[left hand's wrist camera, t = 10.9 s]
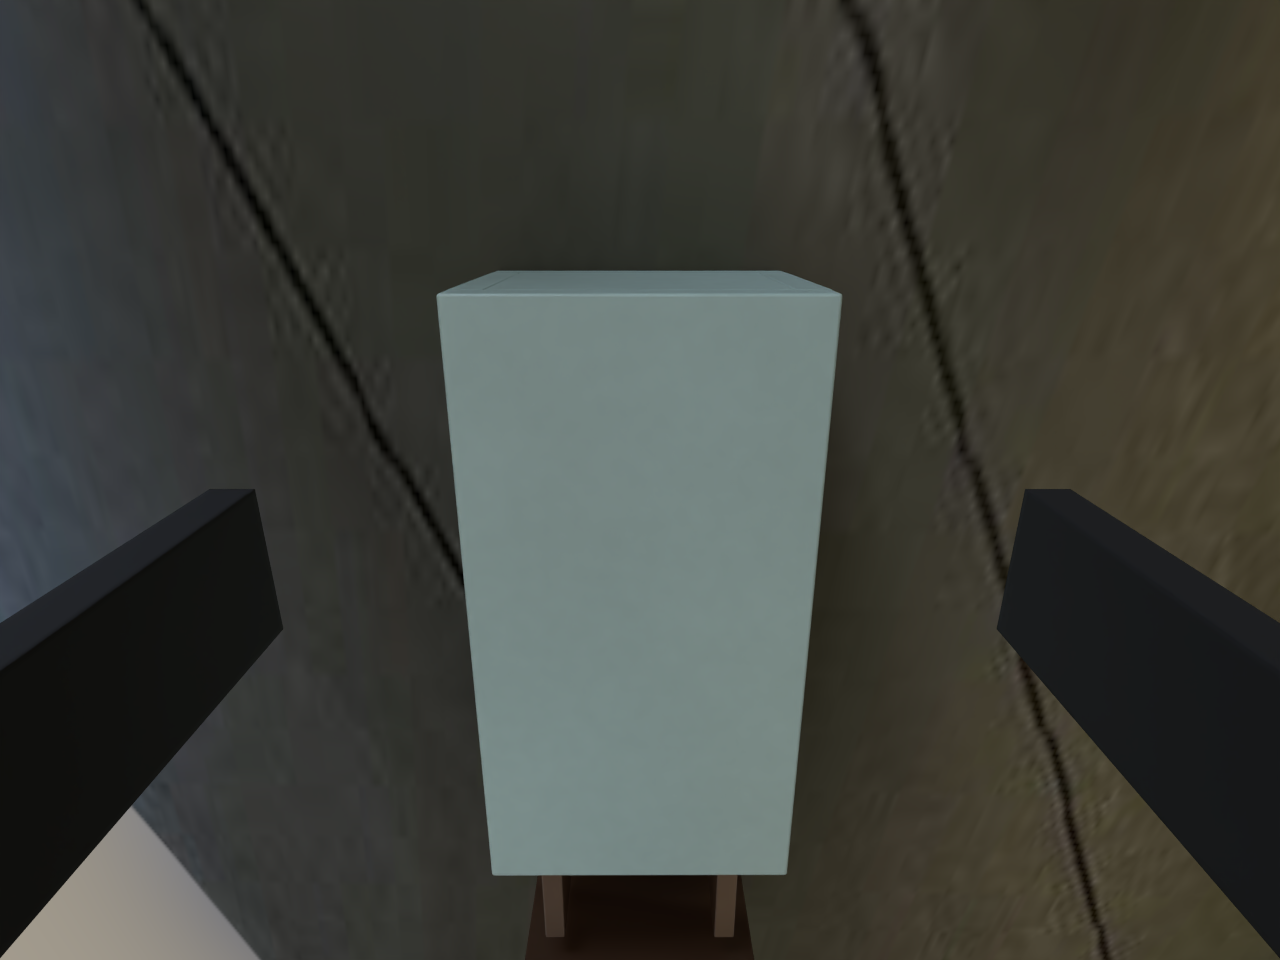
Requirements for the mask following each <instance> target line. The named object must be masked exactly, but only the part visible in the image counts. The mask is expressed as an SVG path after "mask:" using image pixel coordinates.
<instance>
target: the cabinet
mask: <svg viewBox="0 0 1280 960" xmlns="http://www.w3.org/2000/svg"><path fill="white" fill-rule="evenodd" d="M841 306H842V294H840V293H838V292H835V291H833V290H831V289H829V288H826V287H823V286H821V285H818V284H815V283H813V282H810V281H807V280H805V279H802V278H799V277H797V276H794V275H791V274H789V273H785V272H782V271H496V272H493V273H490V274H487V275H485V276H482V277H479V278H477V279H474V280H471V281H469V282H466V283H464V284H461V285H458V286H456V287H453V288H451V289H448V290H446V291H444V292H441V293H439V294H437V307H438V317H439V328H440V338H441V348H442V359H443V369H444V379H445V390H446V400H447V410H448V421H449V431H450V441H451V452H452V462H453V472H454V483H455V493H456V503H457V514H458V524H459V534H460V545H461V555H462V565H463V576H464V586H465V597H466V607H467V617H468V628H469V638H470V648H471V659H472V669H473V679H474V690H475V700H476V710H477V721H478V731H479V741H480V752H481V762H482V772H483V783H484V793H485V803H486V814H487V824H488V834H489V845H490V855H491V866H492V874H493V875H785V874H786V873H787V866H788V856H789V845H790V835H791V825H792V814H793V804H794V794H795V783H796V773H797V762H798V752H799V742H800V731H801V721H802V711H803V700H804V690H805V679H806V669H807V659H808V648H809V638H810V628H811V617H812V607H813V597H814V586H815V576H816V565H817V555H818V545H819V534H820V524H821V514H822V503H823V493H824V482H825V472H826V462H827V451H828V441H829V431H830V420H831V410H832V399H833V389H834V379H835V368H836V358H837V348H838V337H839V327H840V317H841Z"/></svg>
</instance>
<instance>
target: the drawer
mask: <svg viewBox="0 0 1280 960" xmlns="http://www.w3.org/2000/svg"><path fill="white" fill-rule="evenodd" d="M525 960H754V956H753V950H752V943H751V937H750V931H749V924H748V918H747V911H746V905H745V899H744V892H743V886H742V879H741V875H538V878H537V885H536V891H535V898H534V905H533V911H532V918H531V924H530V931H529V937H528V944H527V951H526V957H525Z"/></svg>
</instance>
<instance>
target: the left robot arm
mask: <svg viewBox="0 0 1280 960" xmlns="http://www.w3.org/2000/svg"><path fill="white" fill-rule="evenodd" d="M282 630H283V625H282V620H281V616H280V611H279V606H278V601H277V596H276V591H275V586H274V581H273V576H272V571H271V567H270V562H269V557H268V552H267V547H266V542H265V537H264V532H263V527H262V522H261V518H260V513H259V508H258V503H257V498H256V493H255V489H209V490H208V491H206V492H205V493H203V494H201V495H200V496H198V497H197V498H195V499H194V500H192V501H191V502H189V503H187V504H186V505H184V506H183V507H181V508H180V509H178V510H176V511H175V512H173V513H172V514H170V515H169V516H167V517H166V518H164V519H162V520H161V521H159V522H158V523H156V524H155V525H153V526H151V527H150V528H148V529H147V530H145V531H144V532H142V533H141V534H139V535H137V536H136V537H134V538H133V539H131V540H130V541H128V542H126V543H125V544H123V545H122V546H120V547H119V548H117V549H116V550H114V551H112V552H111V553H109V554H108V555H106V556H105V557H103V558H101V559H100V560H98V561H97V562H95V563H94V564H92V565H91V566H89V567H87V568H86V569H84V570H83V571H81V572H80V573H78V574H76V575H75V576H73V577H72V578H70V579H69V580H67V581H66V582H64V583H62V584H61V585H59V586H58V587H56V588H55V589H53V590H51V591H50V592H48V593H47V594H45V595H44V596H42V597H40V598H39V599H37V600H36V601H34V602H33V603H31V604H30V605H28V606H26V607H25V608H23V609H22V610H20V611H19V612H17V613H15V614H14V615H12V616H11V617H9V618H8V619H6V620H5V621H3V622H1V623H0V958H1V957H2V955H3V954H4V953H5V952H6V951H7V950H8V948H9V947H10V946H11V945H12V944H13V943H14V941H15V940H16V939H17V938H18V937H19V936H20V934H21V933H22V932H23V931H24V930H25V929H26V927H27V926H28V925H29V924H30V923H31V922H32V920H33V919H34V918H35V917H36V916H37V915H38V913H39V912H40V911H41V910H42V909H43V908H44V907H45V905H46V904H47V903H48V902H49V901H50V900H51V898H52V897H53V896H54V895H55V894H56V893H57V891H58V890H59V889H60V888H61V887H62V886H63V884H64V883H65V882H66V881H67V880H68V879H69V877H70V876H71V875H72V874H73V873H74V872H75V870H76V869H77V868H78V867H79V866H80V865H81V864H82V862H83V861H84V860H85V859H86V858H87V856H88V855H89V854H90V853H91V852H92V851H93V850H94V848H95V847H96V846H97V845H98V844H99V843H100V841H101V840H102V839H103V838H104V837H105V836H106V834H107V833H108V832H109V831H110V830H111V829H112V827H113V826H114V825H115V824H116V823H117V822H118V820H119V819H120V818H121V817H122V816H123V815H124V813H125V812H126V811H127V810H128V809H129V808H130V807H131V805H132V804H133V803H134V802H135V801H136V800H137V798H138V797H139V796H140V795H141V794H142V793H143V791H144V790H145V789H146V788H147V787H148V786H149V784H150V783H151V782H152V781H153V780H154V779H155V777H156V776H157V775H158V774H159V773H160V772H161V770H162V769H163V768H164V767H165V766H166V765H167V763H168V762H169V761H170V760H171V759H172V758H173V757H174V755H175V754H176V753H177V752H178V751H179V750H180V748H181V747H182V746H183V745H184V744H185V743H186V741H187V740H188V739H189V738H190V737H191V736H192V734H193V733H194V732H195V731H196V730H197V729H198V727H199V726H200V725H201V724H202V723H203V722H204V720H205V719H206V718H207V717H208V716H209V715H210V713H211V712H212V711H213V710H214V709H215V708H216V706H217V705H218V704H219V703H220V702H221V701H222V700H223V698H224V697H225V696H226V695H227V694H228V693H229V691H230V690H231V689H232V688H233V687H234V686H235V684H236V683H237V682H238V681H239V680H240V679H241V677H242V676H243V675H244V674H245V673H246V672H247V670H248V669H249V668H250V667H251V666H252V665H253V663H254V662H255V661H256V660H257V659H258V658H259V656H260V655H261V654H262V653H263V652H264V651H265V650H266V648H267V647H268V646H269V645H270V644H271V643H272V641H273V640H274V639H275V638H276V637H277V636H278V634H279V633H280V632H281V631H282ZM997 630H998V631H999V632H1000V633H1001V634H1002V636H1003V637H1004V638H1005V639H1006V640H1007V641H1008V643H1009V644H1010V645H1011V646H1012V647H1013V648H1014V650H1015V651H1016V652H1017V653H1018V654H1019V655H1020V656H1021V658H1022V659H1023V660H1024V661H1025V662H1026V663H1027V665H1028V666H1029V667H1030V668H1031V669H1032V670H1033V672H1034V673H1035V674H1036V675H1037V676H1038V677H1039V679H1040V680H1041V681H1042V682H1043V683H1044V684H1045V686H1046V687H1047V688H1048V689H1049V690H1050V691H1051V693H1052V694H1053V695H1054V696H1055V697H1056V698H1057V700H1058V701H1059V702H1060V703H1061V704H1062V705H1063V706H1064V708H1065V709H1066V710H1067V711H1068V712H1069V713H1070V715H1071V716H1072V717H1073V718H1074V719H1075V720H1076V722H1077V723H1078V724H1079V725H1080V726H1081V727H1082V729H1083V730H1084V731H1085V732H1086V733H1087V734H1088V736H1089V737H1090V738H1091V739H1092V740H1093V741H1094V743H1095V744H1096V745H1097V746H1098V747H1099V748H1100V750H1101V751H1102V752H1103V753H1104V754H1105V755H1106V757H1107V758H1108V759H1109V760H1110V761H1111V762H1112V763H1113V765H1114V766H1115V767H1116V768H1117V769H1118V770H1119V772H1120V773H1121V774H1122V775H1123V776H1124V777H1125V779H1126V780H1127V781H1128V782H1129V783H1130V784H1131V786H1132V787H1133V788H1134V789H1135V790H1136V791H1137V793H1138V794H1139V795H1140V796H1141V797H1142V798H1143V800H1144V801H1145V802H1146V803H1147V804H1148V805H1149V807H1150V808H1151V809H1152V810H1153V811H1154V812H1155V813H1156V815H1157V816H1158V817H1159V818H1160V819H1161V820H1162V822H1163V823H1164V824H1165V825H1166V826H1167V827H1168V829H1169V830H1170V831H1171V832H1172V833H1173V834H1174V836H1175V837H1176V838H1177V839H1178V840H1179V841H1180V843H1181V844H1182V845H1183V846H1184V847H1185V848H1186V850H1187V851H1188V852H1189V853H1190V854H1191V855H1192V857H1193V858H1194V859H1195V860H1196V861H1197V862H1198V864H1199V865H1200V866H1201V867H1202V868H1203V869H1204V870H1205V872H1206V873H1207V874H1208V875H1209V876H1210V877H1211V879H1212V880H1213V881H1214V882H1215V883H1216V884H1217V886H1218V887H1219V888H1220V889H1221V890H1222V891H1223V893H1224V894H1225V895H1226V896H1227V897H1228V898H1229V900H1230V901H1231V902H1232V903H1233V904H1234V905H1235V907H1236V908H1237V909H1238V910H1239V911H1240V912H1241V914H1242V915H1243V916H1244V917H1245V918H1246V919H1247V920H1248V922H1249V923H1250V924H1251V925H1252V926H1253V927H1254V929H1255V930H1256V931H1257V932H1258V933H1259V934H1260V936H1261V937H1262V938H1263V939H1264V940H1265V941H1266V943H1267V944H1268V945H1269V946H1270V947H1271V948H1272V950H1273V951H1274V952H1275V953H1276V954H1277V955H1278V957H1279V958H1280V623H1279V622H1277V621H1275V620H1274V619H1272V618H1271V617H1269V616H1268V615H1266V614H1265V613H1263V612H1261V611H1260V610H1258V609H1257V608H1255V607H1254V606H1252V605H1250V604H1249V603H1247V602H1246V601H1244V600H1243V599H1241V598H1240V597H1238V596H1236V595H1235V594H1233V593H1232V592H1230V591H1229V590H1227V589H1225V588H1224V587H1222V586H1221V585H1219V584H1218V583H1216V582H1214V581H1213V580H1211V579H1210V578H1208V577H1207V576H1205V575H1204V574H1202V573H1200V572H1199V571H1197V570H1196V569H1194V568H1193V567H1191V566H1189V565H1188V564H1186V563H1185V562H1183V561H1182V560H1180V559H1179V558H1177V557H1175V556H1174V555H1172V554H1171V553H1169V552H1168V551H1166V550H1164V549H1163V548H1161V547H1160V546H1158V545H1157V544H1155V543H1154V542H1152V541H1150V540H1149V539H1147V538H1146V537H1144V536H1143V535H1141V534H1139V533H1138V532H1136V531H1135V530H1133V529H1132V528H1130V527H1129V526H1127V525H1125V524H1124V523H1122V522H1121V521H1119V520H1118V519H1116V518H1114V517H1113V516H1111V515H1110V514H1108V513H1107V512H1105V511H1104V510H1102V509H1100V508H1099V507H1097V506H1096V505H1094V504H1093V503H1091V502H1089V501H1088V500H1086V499H1085V498H1083V497H1082V496H1080V495H1079V494H1077V493H1075V492H1074V491H1072V490H1071V489H1025V493H1024V498H1023V503H1022V508H1021V513H1020V518H1019V522H1018V527H1017V532H1016V537H1015V542H1014V547H1013V552H1012V557H1011V562H1010V567H1009V571H1008V576H1007V581H1006V586H1005V591H1004V596H1003V601H1002V606H1001V611H1000V616H999V620H998V625H997Z"/></svg>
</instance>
